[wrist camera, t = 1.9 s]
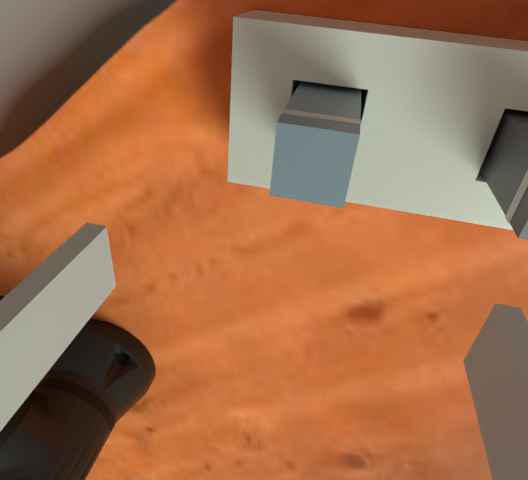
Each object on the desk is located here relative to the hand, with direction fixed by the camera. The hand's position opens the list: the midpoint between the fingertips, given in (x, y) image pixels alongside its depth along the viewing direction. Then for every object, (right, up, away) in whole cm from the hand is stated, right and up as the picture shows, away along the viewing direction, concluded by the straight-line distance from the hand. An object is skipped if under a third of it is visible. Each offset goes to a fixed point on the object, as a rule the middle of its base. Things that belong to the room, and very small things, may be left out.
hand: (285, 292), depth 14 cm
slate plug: (+5, +13, +20) cm, 25 cm away
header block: (+12, +12, +19) cm, 26 cm away
